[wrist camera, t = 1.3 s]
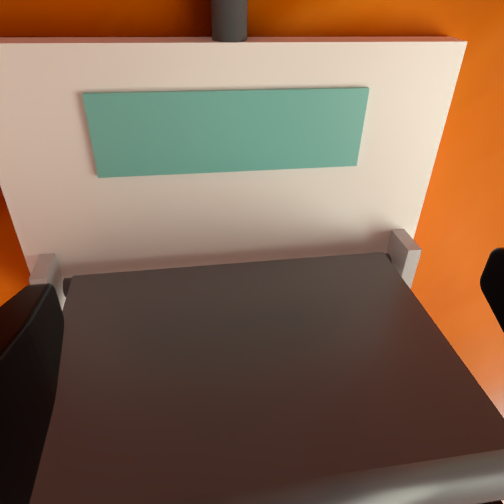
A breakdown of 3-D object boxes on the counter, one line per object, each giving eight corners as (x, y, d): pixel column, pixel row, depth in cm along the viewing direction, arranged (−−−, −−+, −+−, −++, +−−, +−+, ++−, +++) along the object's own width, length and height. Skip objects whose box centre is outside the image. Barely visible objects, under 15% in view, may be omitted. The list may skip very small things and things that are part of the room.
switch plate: (368, 360, 27) (387, 399, 24) (80, 392, 24) (70, 439, 22) (544, -342, 11) (642, -420, 9) (-186, -443, 9) (-312, -584, 7)
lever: (386, 270, 21) (547, 502, 12) (64, 296, 18) (-29, 602, 10) (393, 241, 20) (573, 471, 11) (55, 266, 18) (-56, 573, 9)
